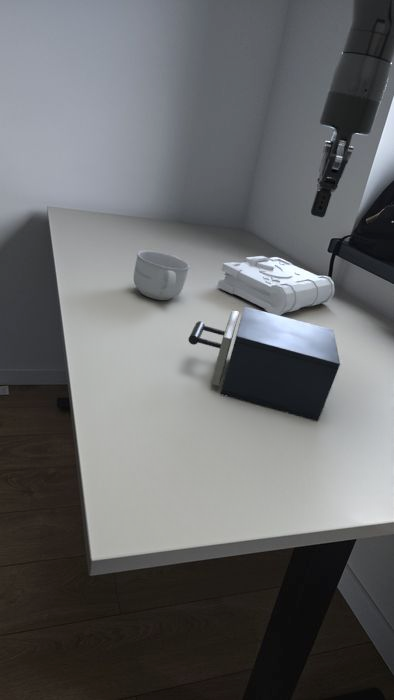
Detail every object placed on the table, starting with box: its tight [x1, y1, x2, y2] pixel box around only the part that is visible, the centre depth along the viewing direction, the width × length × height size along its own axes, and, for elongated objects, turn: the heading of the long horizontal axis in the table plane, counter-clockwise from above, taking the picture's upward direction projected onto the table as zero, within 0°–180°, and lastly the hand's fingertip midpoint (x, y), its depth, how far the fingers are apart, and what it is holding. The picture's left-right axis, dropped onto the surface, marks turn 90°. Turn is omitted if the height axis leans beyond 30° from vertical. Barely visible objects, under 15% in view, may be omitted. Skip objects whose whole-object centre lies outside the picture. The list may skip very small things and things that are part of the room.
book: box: [216, 255, 336, 316], centre depth 118 cm, size 19×28×8 cm
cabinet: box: [220, 306, 341, 422], centre depth 75 cm, size 15×13×10 cm
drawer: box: [188, 309, 240, 387], centre depth 75 cm, size 18×11×8 cm, turn 80°
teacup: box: [133, 250, 191, 301], centre depth 100 cm, size 14×11×8 cm
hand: (317, 215), depth 78 cm, fingers closed
